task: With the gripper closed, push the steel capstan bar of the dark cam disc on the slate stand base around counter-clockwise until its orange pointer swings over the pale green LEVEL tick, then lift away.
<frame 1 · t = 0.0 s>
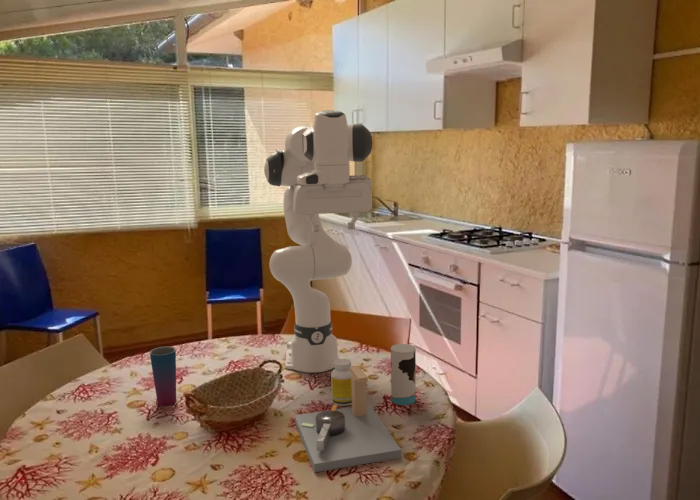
hand: (333, 230, 150), 48 cm above the table, fingers open, 8 cm apart
stand base: (344, 439, 141), on the table
cup 2: (403, 400, 161), on the table
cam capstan: (328, 427, 139), point 4 cm above the table, hinge at -25.0°
cup: (167, 402, 163), on the table
pill bottle: (343, 402, 161), on the table
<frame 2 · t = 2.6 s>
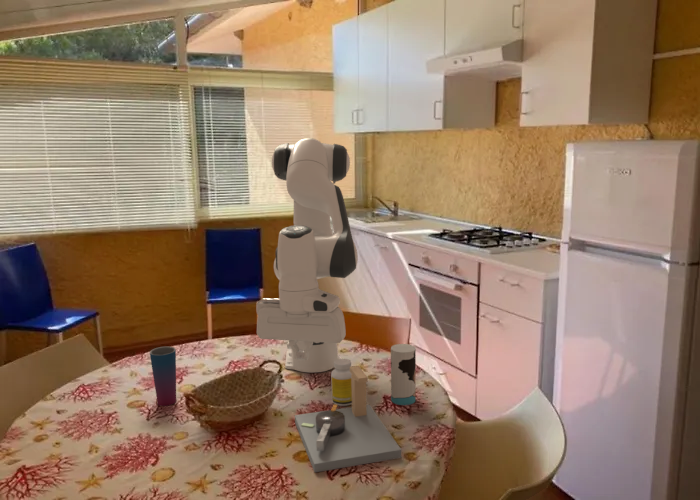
hand: (301, 358, 132), 22 cm above the table, fingers closed
nothing on the table moved.
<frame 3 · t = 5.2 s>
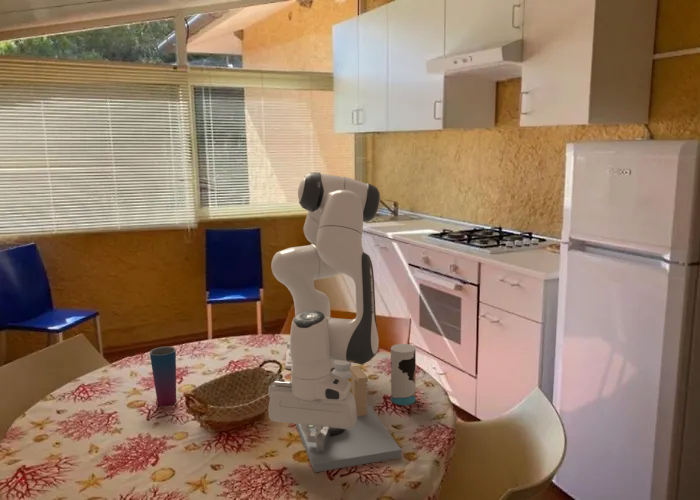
hand: (313, 441, 134), 3 cm above the table, fingers closed
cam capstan: (328, 427, 139), point 4 cm above the table, hinge at -25.0°, touching gripper
everything else where it was.
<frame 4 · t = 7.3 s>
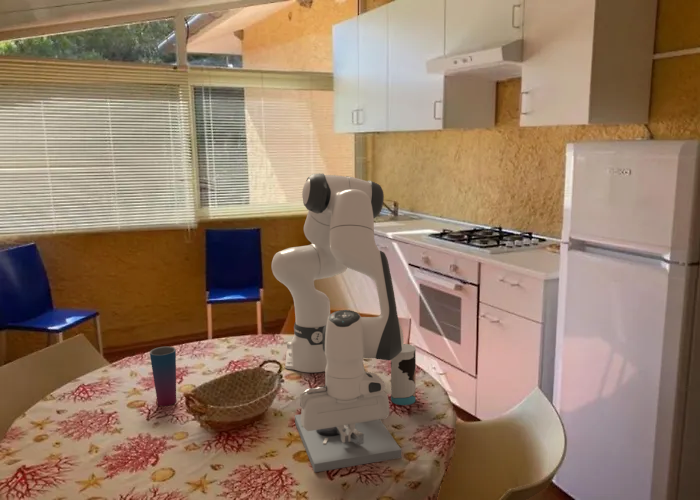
hand: (345, 441, 133), 3 cm above the table, fingers closed
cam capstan: (336, 426, 139), point 4 cm above the table, hinge at 23.7°, touching gripper
everything else where it was.
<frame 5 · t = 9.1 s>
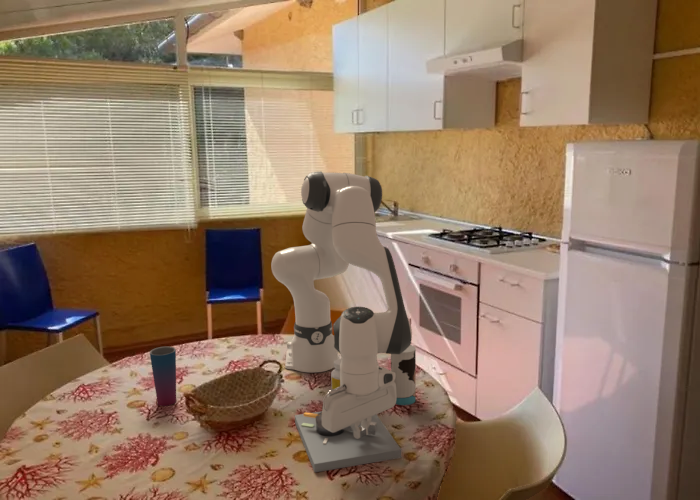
hand: (360, 436, 135), 3 cm above the table, fingers closed
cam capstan: (339, 424, 140), point 4 cm above the table, hinge at 54.6°
everything else where it was.
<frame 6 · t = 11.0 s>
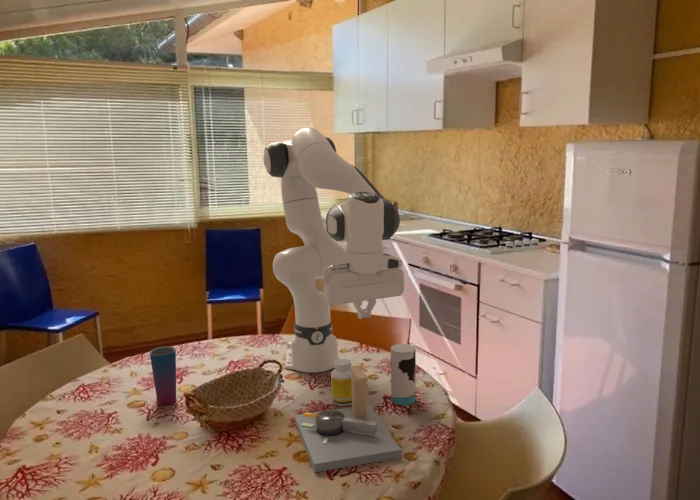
hand: (364, 317, 141), 29 cm above the table, fingers closed
nothing on the table moved.
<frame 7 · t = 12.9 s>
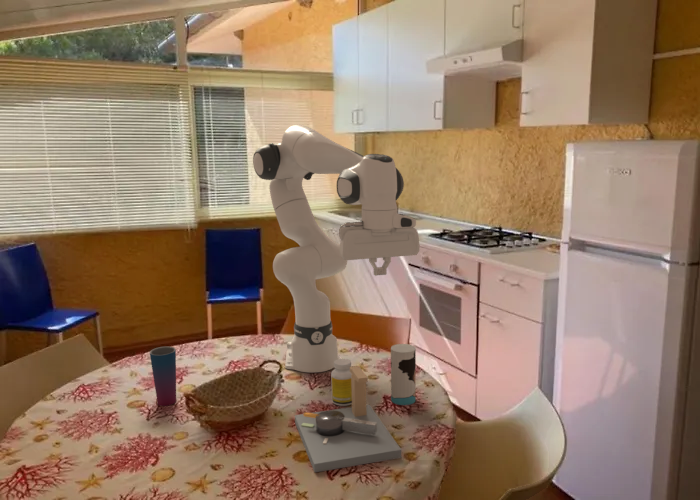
hand: (380, 274, 148), 37 cm above the table, fingers closed
nothing on the table moved.
at the end: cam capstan at +55° (first picture: -25°) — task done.
